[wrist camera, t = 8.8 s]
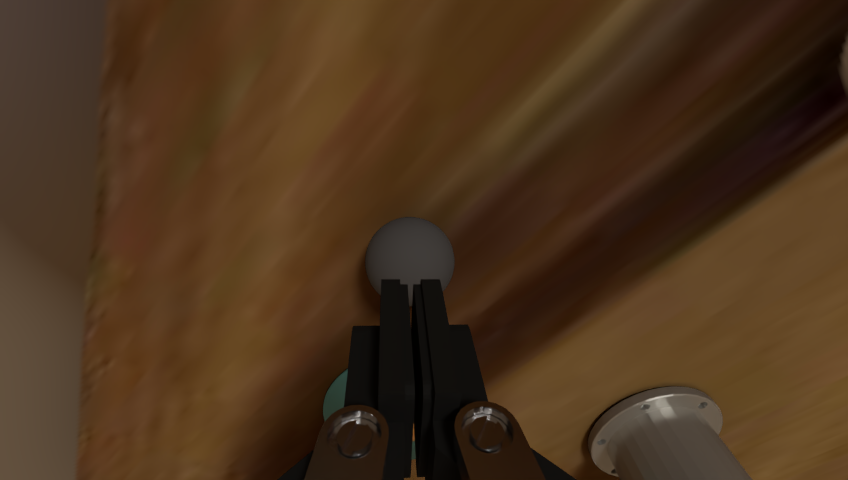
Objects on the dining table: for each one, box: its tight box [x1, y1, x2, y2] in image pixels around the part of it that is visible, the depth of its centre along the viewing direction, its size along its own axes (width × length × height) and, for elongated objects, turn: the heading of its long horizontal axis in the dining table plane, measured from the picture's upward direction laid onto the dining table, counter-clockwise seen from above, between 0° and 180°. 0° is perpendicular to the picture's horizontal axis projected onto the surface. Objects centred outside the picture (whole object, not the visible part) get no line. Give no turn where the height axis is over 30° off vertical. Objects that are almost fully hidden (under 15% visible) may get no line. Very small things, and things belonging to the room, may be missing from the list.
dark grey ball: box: [365, 217, 454, 306], centre depth 26 cm, size 6×6×6 cm
